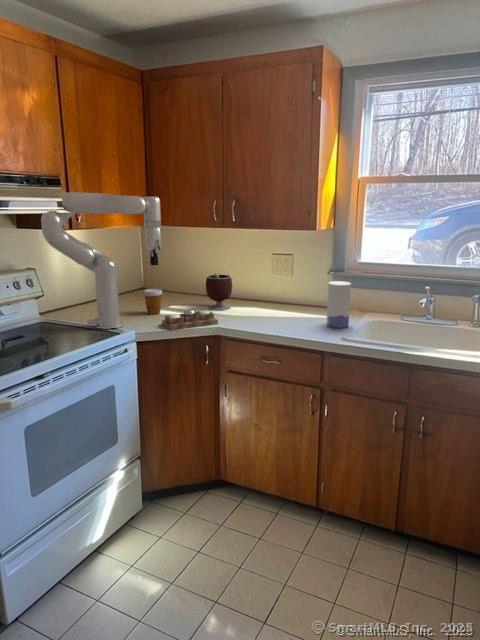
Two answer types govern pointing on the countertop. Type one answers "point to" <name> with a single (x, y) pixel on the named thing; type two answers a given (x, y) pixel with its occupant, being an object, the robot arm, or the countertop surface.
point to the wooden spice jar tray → (189, 321)
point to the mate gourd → (219, 290)
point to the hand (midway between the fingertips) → (154, 265)
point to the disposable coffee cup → (153, 300)
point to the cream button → (174, 316)
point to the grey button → (189, 312)
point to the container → (338, 304)
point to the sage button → (204, 312)
